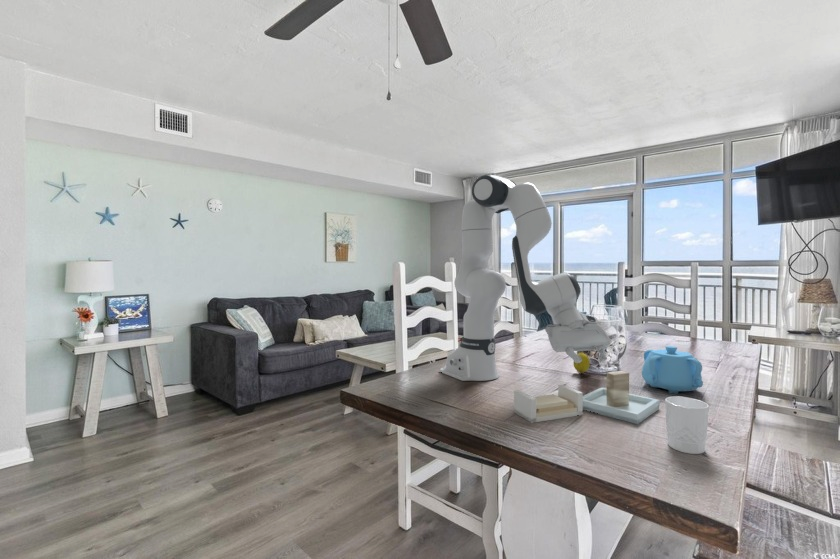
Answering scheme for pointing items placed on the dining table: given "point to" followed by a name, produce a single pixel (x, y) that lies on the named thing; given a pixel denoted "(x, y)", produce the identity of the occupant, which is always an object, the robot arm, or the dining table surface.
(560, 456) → the dining table surface
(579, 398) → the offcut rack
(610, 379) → the upright wood block
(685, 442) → the white cup
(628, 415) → the ceramic tray
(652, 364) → the decorative pot
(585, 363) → the lemon
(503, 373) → the dining table surface
